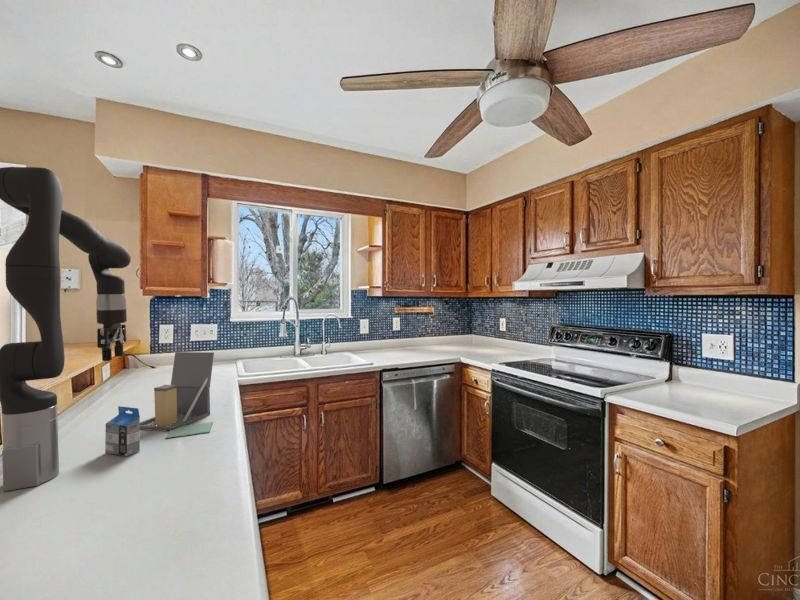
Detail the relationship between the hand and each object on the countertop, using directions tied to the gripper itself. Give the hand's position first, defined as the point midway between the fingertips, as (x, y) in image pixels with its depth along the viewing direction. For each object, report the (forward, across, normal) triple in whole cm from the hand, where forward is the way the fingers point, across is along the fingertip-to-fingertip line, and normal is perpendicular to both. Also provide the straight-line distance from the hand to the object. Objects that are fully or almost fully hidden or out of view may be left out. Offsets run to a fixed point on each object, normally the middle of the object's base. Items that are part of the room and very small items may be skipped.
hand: (113, 358), depth 115 cm
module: (+24, +3, -14) cm, 28 cm away
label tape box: (+24, -19, -9) cm, 32 cm away
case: (+24, +7, -16) cm, 30 cm away
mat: (+24, -7, -23) cm, 34 cm away
